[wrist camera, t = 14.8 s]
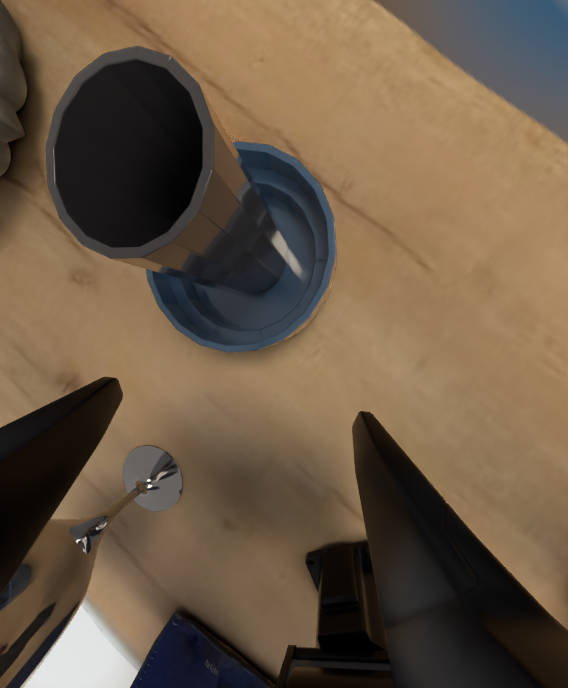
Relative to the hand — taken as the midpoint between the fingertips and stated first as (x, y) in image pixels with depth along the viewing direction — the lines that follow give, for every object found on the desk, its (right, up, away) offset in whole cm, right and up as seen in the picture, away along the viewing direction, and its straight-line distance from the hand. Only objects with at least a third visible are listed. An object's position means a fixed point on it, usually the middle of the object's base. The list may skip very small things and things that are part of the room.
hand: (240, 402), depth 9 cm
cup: (-1, +10, +11) cm, 15 cm away
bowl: (-1, +9, +12) cm, 15 cm away
